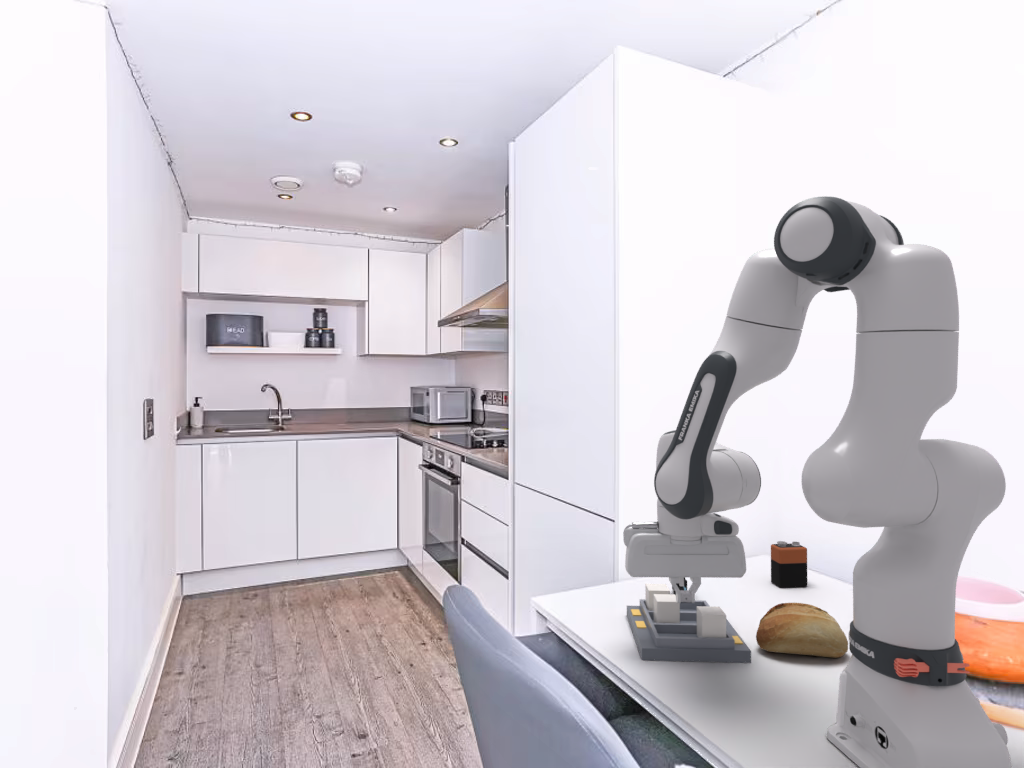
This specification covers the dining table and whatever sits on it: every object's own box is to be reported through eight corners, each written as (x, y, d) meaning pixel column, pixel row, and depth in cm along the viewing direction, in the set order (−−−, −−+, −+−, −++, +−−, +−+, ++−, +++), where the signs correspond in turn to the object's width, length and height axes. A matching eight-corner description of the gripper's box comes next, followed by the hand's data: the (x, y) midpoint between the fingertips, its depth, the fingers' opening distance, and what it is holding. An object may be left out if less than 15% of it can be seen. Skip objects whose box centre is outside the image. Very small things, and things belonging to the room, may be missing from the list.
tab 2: (679, 629, 109) (679, 602, 109) (657, 629, 110) (657, 601, 110) (675, 621, 113) (675, 594, 113) (653, 620, 114) (653, 594, 114)
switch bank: (751, 662, 101) (750, 641, 101) (641, 660, 102) (641, 639, 102) (717, 617, 121) (717, 599, 121) (626, 615, 122) (626, 598, 122)
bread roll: (747, 639, 110) (747, 595, 110) (832, 642, 109) (832, 597, 109) (765, 663, 101) (765, 615, 101) (859, 666, 99) (858, 617, 99)
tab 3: (726, 644, 103) (726, 615, 103) (702, 644, 103) (702, 614, 103) (719, 635, 107) (719, 606, 107) (696, 634, 107) (696, 606, 107)
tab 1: (670, 617, 115) (670, 590, 115) (648, 616, 116) (648, 590, 116) (666, 609, 119) (665, 584, 119) (645, 609, 120) (645, 583, 120)
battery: (770, 582, 142) (769, 540, 142) (797, 581, 143) (797, 539, 143) (780, 588, 138) (779, 544, 138) (808, 587, 138) (808, 543, 138)
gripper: (625, 525, 103) (627, 607, 102) (748, 525, 102) (750, 608, 101) (621, 518, 109) (622, 596, 109) (736, 518, 108) (738, 597, 107)
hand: (685, 602), depth 105 cm, fingers closed
